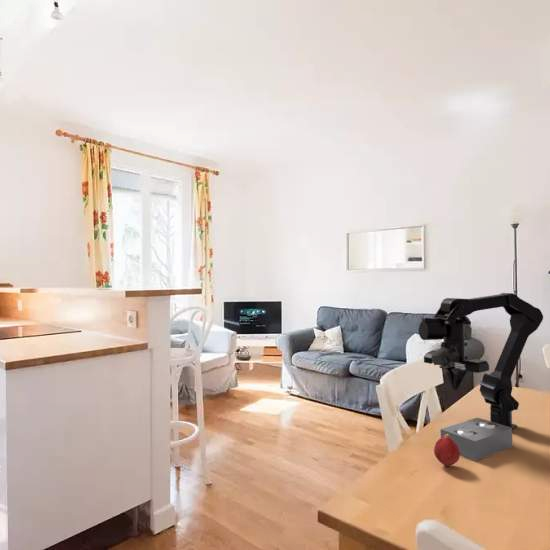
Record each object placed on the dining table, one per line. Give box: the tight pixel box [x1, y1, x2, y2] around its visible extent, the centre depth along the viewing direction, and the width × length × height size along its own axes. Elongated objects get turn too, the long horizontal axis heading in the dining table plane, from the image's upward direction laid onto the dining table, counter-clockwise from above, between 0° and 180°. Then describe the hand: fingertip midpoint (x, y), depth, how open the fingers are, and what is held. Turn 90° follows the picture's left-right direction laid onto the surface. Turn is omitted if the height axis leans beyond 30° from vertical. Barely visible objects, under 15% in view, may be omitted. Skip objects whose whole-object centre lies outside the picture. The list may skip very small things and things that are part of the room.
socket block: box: [440, 417, 513, 462], centre depth 110 cm, size 17×10×5 cm, turn 121°
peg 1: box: [457, 429, 474, 437], centre depth 107 cm, size 4×4×5 cm
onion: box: [433, 434, 461, 468], centre depth 98 cm, size 6×6×8 cm
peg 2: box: [479, 422, 495, 429], centre depth 112 cm, size 4×4×5 cm
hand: (455, 390), depth 123 cm, fingers closed
